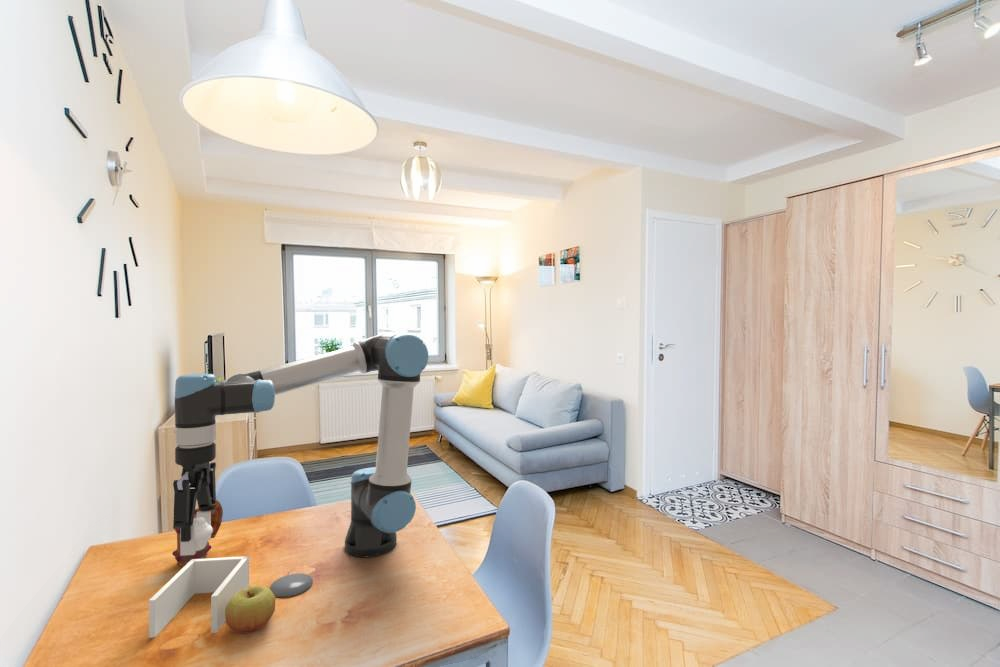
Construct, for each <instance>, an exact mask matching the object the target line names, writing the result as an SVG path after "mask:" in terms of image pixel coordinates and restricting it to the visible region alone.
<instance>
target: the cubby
mask: <svg viewBox="0 0 1000 667" xmlns="http://www.w3.org/2000/svg"><path fill="white" fill-rule="evenodd" d="M247 587H250V555H244V556H230V557H229V556H226V557H212V558H211V557H210V558H207V557H206V558H205V559H192V560H190V561H189V562H188V563H187V564H186V565H185V566H182V568H181V569H180V570H179V571H178V572H176V574H175V575H174V576H173V577H172V578H170V579H169V581H167V583H166V584H164V585H163V586H162V587H161V588H160V589H159V590H158V591H157V592H155V594H154V595H152V596H151V598H150V599H148V639H152V638H156V637H157V636H158V635H159V634H160V633H161V632H162V630H164V628H165V627H166V626H167V625H168V624H169V622H171V620H173V618H174V617H175V616H176V615H177V614H178V613H179V611H181V609H182V608H183V607H184V606H185V605H186V604H187V602H189V601H190V600H191V599H192V597H193V596H194V595H195V594H210V593H212V594H211V596H210V599H211V600H210V603H211V604H210V609H211V610H210V613H211V614H210V615H211V616H210V634H215V633H218V632H219V631H220V629H221V628H222V627H223V625H224V624H225V623H226V619H225V608H226V606H227V604H228V602H229V600H230V599H231V597H232V596H233V595H234V594H236V593H237V592H238V591H240V590H242V589H244V588H247Z"/></svg>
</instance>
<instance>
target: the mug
mask: <svg viewBox="0 0 1000 667" xmlns="http://www.w3.org/2000/svg"><path fill="white" fill-rule="evenodd" d="M212 505H216V508H215V510H210V511H211V526H212V528H213V532H212V534H211V539H214V538H216V536H217V533H218V531H219V530H220V527H221V525H222V521H223V514H224V510H223V507H222V504H221V502H220V501H219V500H217V499H216V503H215V504H212ZM198 511H201V510H199V508H198V507H197V508H195V514H194V518H196V517H197V512H198ZM172 529H173V530H174V531H175V533H176V545H177V546H176V549H175V550H174V551H172V555H173V556H174V559H175V560H176V562H177V566H180V567H184V566H185V565H186V564H187V563H188V562H189V561H190V560H192V559H206V558H207V557H208V552H209V551H211V549H212V545H210V542H209V541H208V542H207V544H206V546H205V548H203V549H201V550H198V551H196V553H195V554H194V555H184V556H180V527H173V526H172Z"/></svg>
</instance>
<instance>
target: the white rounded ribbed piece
mask: <svg viewBox="0 0 1000 667" xmlns="http://www.w3.org/2000/svg"><path fill="white" fill-rule="evenodd" d="M193 524H196V551H198V550H201V549H203V548H205V546H206V544H207V542H209V541H210V540H211V539H210V537H211V534H212V532H213V528H212V526H211V525H209V524H208V523H207V522H206V519H205V518H203V517H196V518H194V521H193ZM209 539H210V540H209Z"/></svg>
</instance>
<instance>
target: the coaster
mask: <svg viewBox="0 0 1000 667" xmlns="http://www.w3.org/2000/svg"><path fill="white" fill-rule="evenodd" d="M312 585H313V577H312V576H311V575H310V574H306V573H300V572H299V573H291V574H287V575H284V576H282V577H279V578H277V579H276V580H274V581H273V582H272V583H271V584H270V585H269V587H268V588H269V589H270V590H271V591H272V592H273V594H274V595H275V598H282V599H283V598H285V599H286V598H291V597H294V596H295V597H296V596H298V595H301V594H303V593H304V592H307V591H308V590H309V589H310V588H311V587H312Z"/></svg>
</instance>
